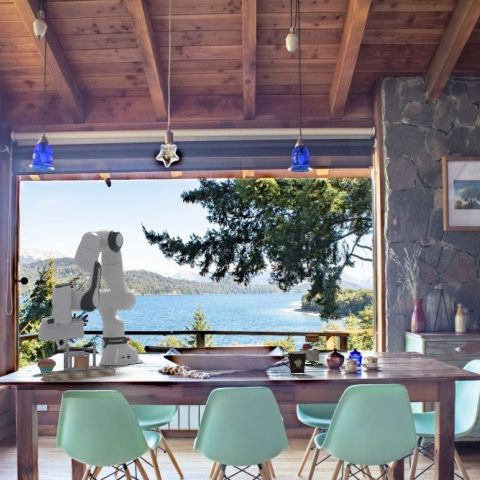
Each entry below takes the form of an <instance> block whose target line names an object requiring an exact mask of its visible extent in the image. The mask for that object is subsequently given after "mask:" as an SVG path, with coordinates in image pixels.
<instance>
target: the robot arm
mask: <svg viewBox="0 0 480 480" xmlns="http://www.w3.org/2000/svg"><path fill="white" fill-rule="evenodd" d="M123 244H124V236H123V234H122V233H121V232H120V231H119V230H114V229H112V230H106V229H105V230H96V231H88V232H85V233H84V234H83V235H82V237H81V240H80V242H79V244H78V246H77V249H76V252H75V255H74V263H75V265H76V266H77V267H78V269H80V270H81V271H83V272H84V273H85V272H86V273H88V274H89V282H88V288H87V289H85V290H76V289H75V290H74V289H73V288H72V286H71V284H70V283H67V282H66V283H57V284H55V285H54V287H53V289H52V294H51V305H52V311H51V315H50V316H46V317H44V318H42V319H41V320H40V323H41V324H40V326H39V327H38V328H39V329H38V333H37V334H38V335H37V336H38V337H37V338H38V340H39V341H40V342H47V341H48V342H49V341H54V342H55V344H56V346H57V350H58V351H60V350H62V351H63V350H64V351H66V344H67V343H68V341H69V340H76V339H77V340H79V339H83V338H84V337H85V329H84V327H85V321H84V320H83V319H82V318H80V317H79V318H72V317H73V316H72V315H73V314H72V313H73V312H86V313H93V312H95V310H97V311H98V312H99V315H100V317H101V321H102V337H101V347H102V351H101V355H100V356H101V357H100V361H99V364H100V365H102V366H118V367H120V366H126V365H127V366H128V364H129V365H134V364H135V365H136V363H137V364H141V363H142V364H143V363H144V361H143V359H141V358H139V356H140V355H139V352H138V350H137V349H136V348H135V347H133V346H132V345H130V344H129V343H128V342H131V340H132V339H131V337H129V336H125V321H124V319H123V318H121V317H120V315H119V313H118V311H128V310H129V311H130V310H131V309H133V308H134V307H135V305H136V301H137V299H136V297H137V296H136V294H135V293H134V292H133V291H132V290H131V289H130V287H128V285H127V283H126V280H125V277H124V266H123V265H124V264H123V256H122V250H121V249H122V247H123ZM100 254H101V256H100ZM99 258H100V259H101V261H99ZM101 279H102V280H103V281H104V283H106V284H107V285H108V287H109V289H101ZM60 341H62V342H63V344H60Z"/></svg>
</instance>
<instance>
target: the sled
mask: <svg viewBox="0 0 480 480" xmlns="http://www.w3.org/2000/svg"><path fill="white" fill-rule="evenodd" d="M65 352H66V368H64V367H63V370H66V371H69V356H68V354H69V352H70V343H68V342H67V344H66V346H65ZM86 362H87V356H75V357H73V366H72V371H76V370H86ZM96 364H97V341H92V365H89V369H97V367H98V366H97V365H96Z"/></svg>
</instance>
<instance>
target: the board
mask: <svg viewBox="0 0 480 480" xmlns="http://www.w3.org/2000/svg"><path fill="white" fill-rule="evenodd" d="M115 375H116V369H115V368H114V367H113V366H111V365H105V366H97V369H89V372H86V370H76V371H72V373H71V374H69V371H66V370H64V369H62V370H52V371H50V372H44V373H43V374H42V379H43V380H45V381H47V382H58V381H66V380H76V379H86V378H96V377H97V378H98V377H108V376H115Z"/></svg>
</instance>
